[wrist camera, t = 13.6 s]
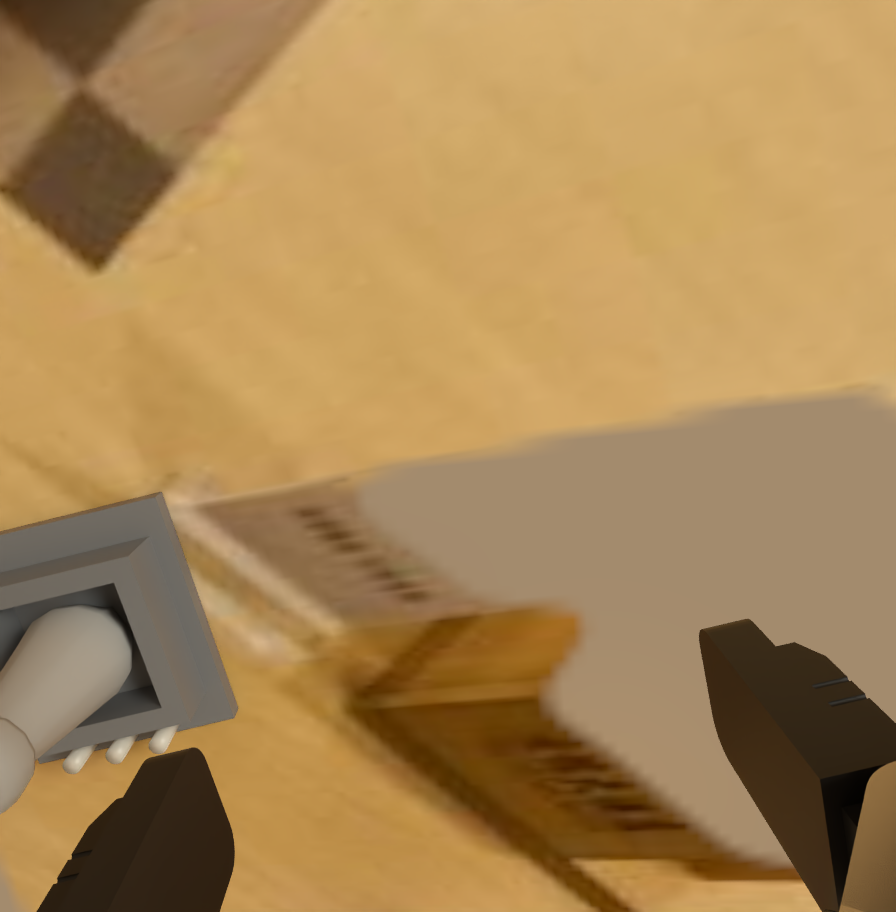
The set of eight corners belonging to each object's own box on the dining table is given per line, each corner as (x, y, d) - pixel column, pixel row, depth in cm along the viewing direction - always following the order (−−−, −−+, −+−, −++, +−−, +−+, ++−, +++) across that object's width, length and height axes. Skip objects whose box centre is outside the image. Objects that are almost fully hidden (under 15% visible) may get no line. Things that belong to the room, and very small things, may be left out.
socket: (-44, 542, 42) (-91, 569, 38) (161, 491, 42) (134, 514, 38) (47, 753, 45) (12, 798, 41) (238, 708, 45) (220, 749, 41)
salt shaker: (55, 686, 43) (-98, 857, 31) (32, 595, 42) (-139, 734, 29) (156, 675, 43) (44, 842, 31) (136, 584, 42) (10, 718, 29)
